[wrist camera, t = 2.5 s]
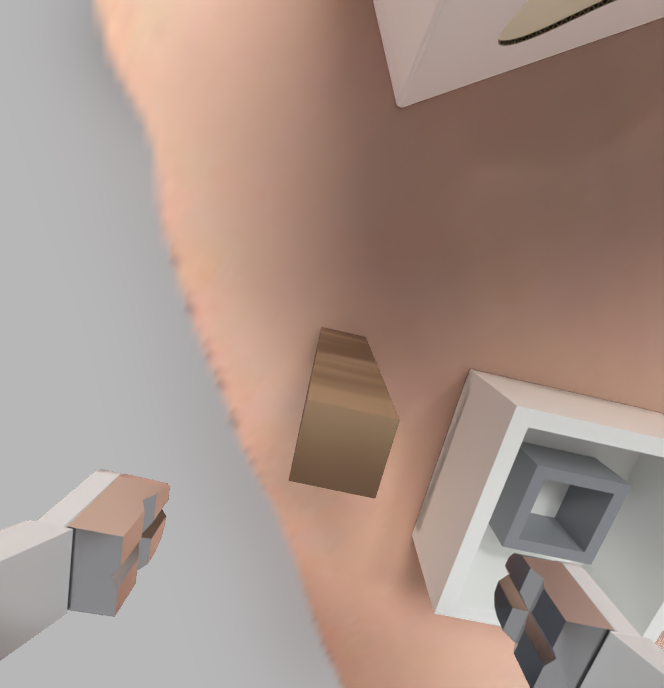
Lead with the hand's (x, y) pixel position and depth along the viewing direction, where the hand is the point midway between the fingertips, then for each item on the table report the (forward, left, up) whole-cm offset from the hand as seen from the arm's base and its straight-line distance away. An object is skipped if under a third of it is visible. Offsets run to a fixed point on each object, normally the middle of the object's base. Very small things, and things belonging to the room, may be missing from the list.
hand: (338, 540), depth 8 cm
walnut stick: (0, 0, -15) cm, 15 cm away
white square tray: (+6, +16, -15) cm, 23 cm away
